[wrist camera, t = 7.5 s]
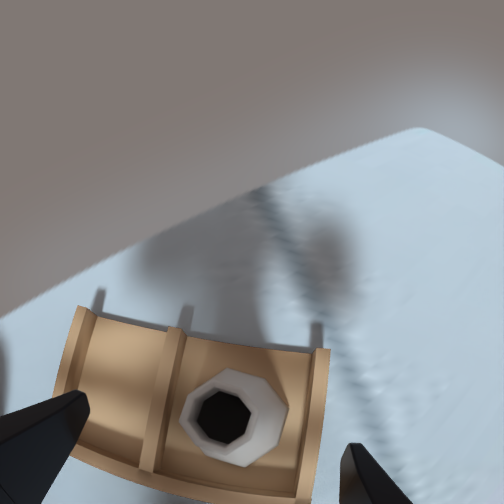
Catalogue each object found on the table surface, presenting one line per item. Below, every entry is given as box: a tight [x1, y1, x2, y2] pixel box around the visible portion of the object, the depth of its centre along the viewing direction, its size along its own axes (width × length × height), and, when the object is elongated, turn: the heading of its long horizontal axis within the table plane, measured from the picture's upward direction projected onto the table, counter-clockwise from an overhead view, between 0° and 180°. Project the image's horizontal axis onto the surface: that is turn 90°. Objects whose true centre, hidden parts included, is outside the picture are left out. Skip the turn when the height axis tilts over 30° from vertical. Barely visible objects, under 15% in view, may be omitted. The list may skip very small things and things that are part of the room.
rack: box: [52, 306, 331, 504], centre depth 19 cm, size 12×20×3 cm, turn 81°
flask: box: [178, 368, 289, 468], centre depth 15 cm, size 7×7×10 cm
